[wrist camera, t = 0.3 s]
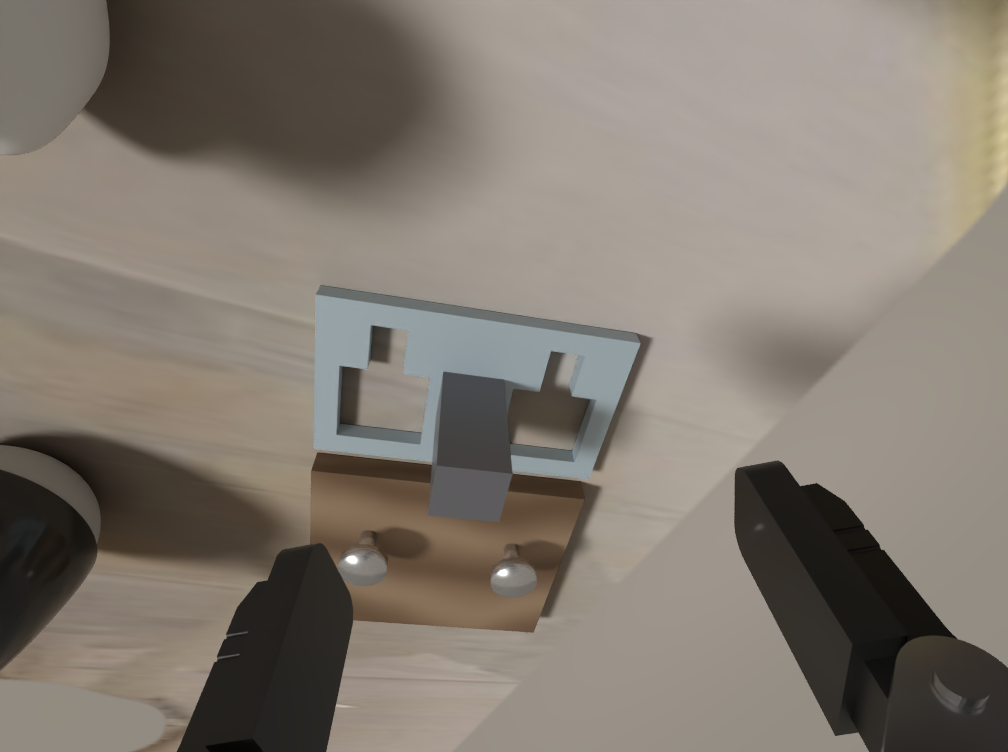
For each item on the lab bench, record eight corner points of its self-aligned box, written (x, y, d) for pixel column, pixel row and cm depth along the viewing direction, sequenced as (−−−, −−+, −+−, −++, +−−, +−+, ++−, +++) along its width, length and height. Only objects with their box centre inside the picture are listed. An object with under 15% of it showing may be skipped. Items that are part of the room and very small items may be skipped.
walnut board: (317, 452, 33) (299, 505, 30) (580, 481, 36) (592, 533, 32) (314, 598, 41) (300, 653, 37) (531, 613, 43) (536, 667, 40)
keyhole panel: (320, 285, 27) (272, 379, 21) (635, 333, 30) (683, 432, 23) (317, 437, 33) (278, 551, 26) (585, 467, 35) (613, 579, 28)
